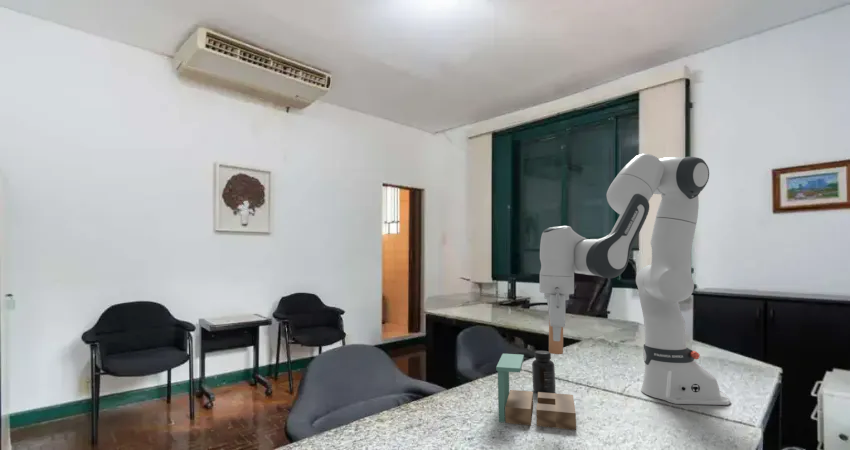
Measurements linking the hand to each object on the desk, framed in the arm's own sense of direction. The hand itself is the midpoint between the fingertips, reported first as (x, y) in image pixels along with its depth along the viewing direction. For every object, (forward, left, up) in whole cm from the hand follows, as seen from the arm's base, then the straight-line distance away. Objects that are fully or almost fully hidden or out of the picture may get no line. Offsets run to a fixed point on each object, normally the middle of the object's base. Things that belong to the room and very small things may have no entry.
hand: (556, 338), depth 113 cm
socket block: (+5, 0, -20) cm, 21 cm away
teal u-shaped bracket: (+12, 0, -20) cm, 24 cm away
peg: (0, 0, -4) cm, 4 cm away
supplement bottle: (+4, -21, -21) cm, 30 cm away
